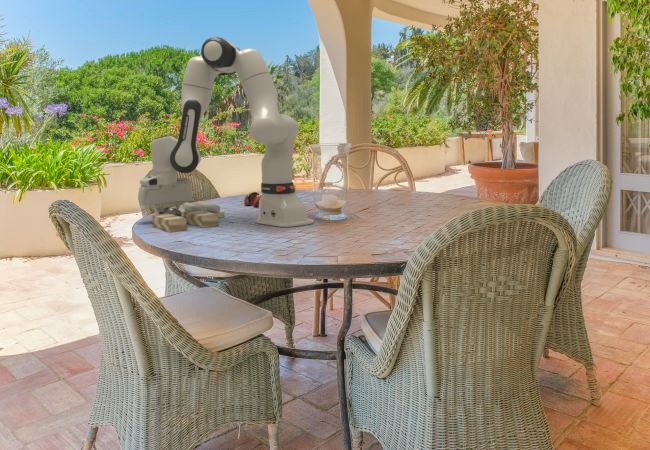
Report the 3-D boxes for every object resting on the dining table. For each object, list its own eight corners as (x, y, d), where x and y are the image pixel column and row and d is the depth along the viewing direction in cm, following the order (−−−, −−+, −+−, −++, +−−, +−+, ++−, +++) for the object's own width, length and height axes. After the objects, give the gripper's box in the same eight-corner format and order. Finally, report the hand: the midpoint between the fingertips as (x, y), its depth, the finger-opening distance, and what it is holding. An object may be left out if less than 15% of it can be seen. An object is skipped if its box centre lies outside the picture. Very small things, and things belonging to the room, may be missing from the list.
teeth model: (256, 193, 243) (242, 192, 252) (256, 208, 244) (242, 206, 253) (273, 193, 248) (258, 191, 257) (273, 207, 249) (258, 204, 258)
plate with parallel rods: (224, 216, 222) (223, 204, 221) (196, 220, 215) (195, 207, 214) (206, 212, 234) (206, 200, 234) (179, 215, 227) (178, 203, 226)
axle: (181, 221, 212) (180, 207, 211) (169, 223, 209) (167, 209, 208) (169, 217, 221) (168, 204, 220) (156, 219, 218) (155, 206, 217)
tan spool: (218, 225, 202) (218, 214, 201) (170, 232, 191) (169, 220, 191) (199, 220, 215) (198, 210, 214) (153, 226, 204) (152, 215, 203)
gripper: (187, 176, 222) (189, 211, 224) (135, 180, 210) (138, 217, 212) (194, 177, 217) (196, 213, 219) (141, 181, 205) (144, 219, 207)
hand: (167, 215), depth 215 cm, fingers closed on axle, 5 cm apart
